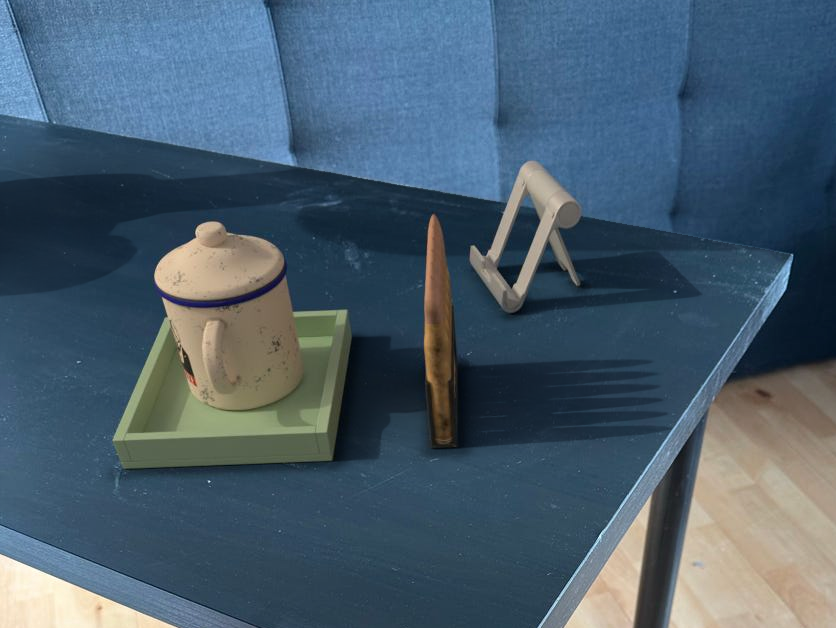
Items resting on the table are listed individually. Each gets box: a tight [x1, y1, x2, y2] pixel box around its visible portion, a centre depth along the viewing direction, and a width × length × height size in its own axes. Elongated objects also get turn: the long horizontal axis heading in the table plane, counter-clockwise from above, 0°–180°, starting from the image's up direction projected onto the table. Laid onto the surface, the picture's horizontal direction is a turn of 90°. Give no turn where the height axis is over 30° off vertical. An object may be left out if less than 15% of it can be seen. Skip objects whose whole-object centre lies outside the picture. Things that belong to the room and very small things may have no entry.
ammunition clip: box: [423, 213, 459, 449], centre depth 64 cm, size 11×2×12 cm, turn 1°
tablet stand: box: [469, 160, 582, 314], centre depth 78 cm, size 9×8×8 cm
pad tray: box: [112, 309, 353, 470], centre depth 69 cm, size 15×17×2 cm
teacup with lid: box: [153, 221, 304, 410], centre depth 65 cm, size 12×9×12 cm
